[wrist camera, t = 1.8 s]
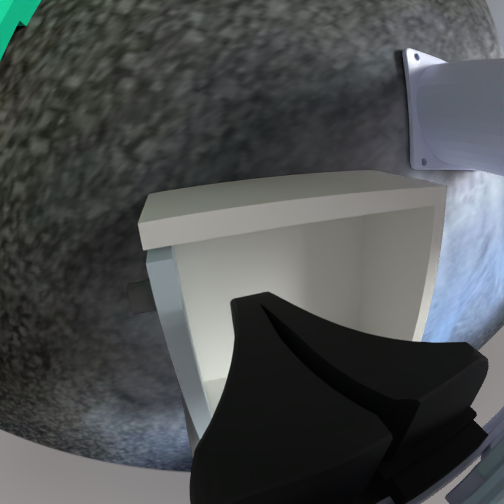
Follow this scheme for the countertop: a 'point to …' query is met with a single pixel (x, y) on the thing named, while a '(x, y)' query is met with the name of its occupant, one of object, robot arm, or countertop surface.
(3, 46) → the camera mount
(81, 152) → the countertop surface
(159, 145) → the countertop surface
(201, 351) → the cream case
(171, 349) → the case door
